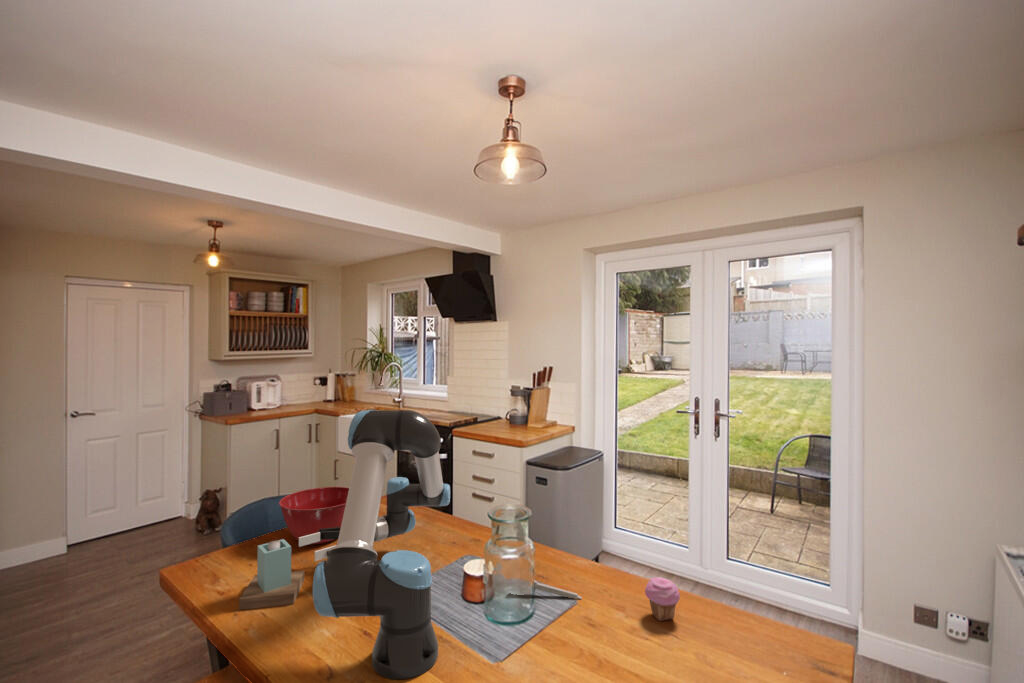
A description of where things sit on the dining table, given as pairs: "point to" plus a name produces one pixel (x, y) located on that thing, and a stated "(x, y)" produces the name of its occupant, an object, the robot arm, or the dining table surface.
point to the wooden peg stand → (276, 597)
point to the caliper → (555, 590)
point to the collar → (274, 566)
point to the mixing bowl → (314, 510)
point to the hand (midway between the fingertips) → (306, 548)
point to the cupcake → (662, 597)
